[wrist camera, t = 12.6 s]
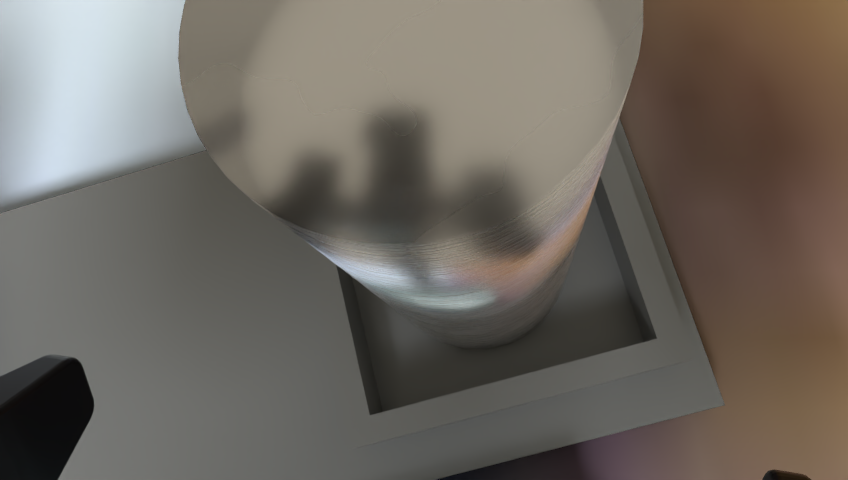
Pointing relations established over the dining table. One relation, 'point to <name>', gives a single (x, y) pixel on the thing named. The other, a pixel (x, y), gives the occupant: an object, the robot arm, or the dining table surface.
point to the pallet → (326, 339)
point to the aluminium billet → (420, 139)
